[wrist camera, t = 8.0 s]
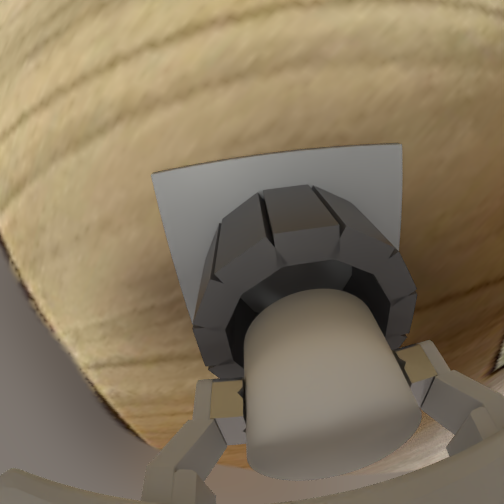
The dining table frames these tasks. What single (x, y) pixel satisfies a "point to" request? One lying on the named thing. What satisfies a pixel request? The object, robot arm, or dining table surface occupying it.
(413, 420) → the cap
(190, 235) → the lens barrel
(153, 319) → the dining table surface
